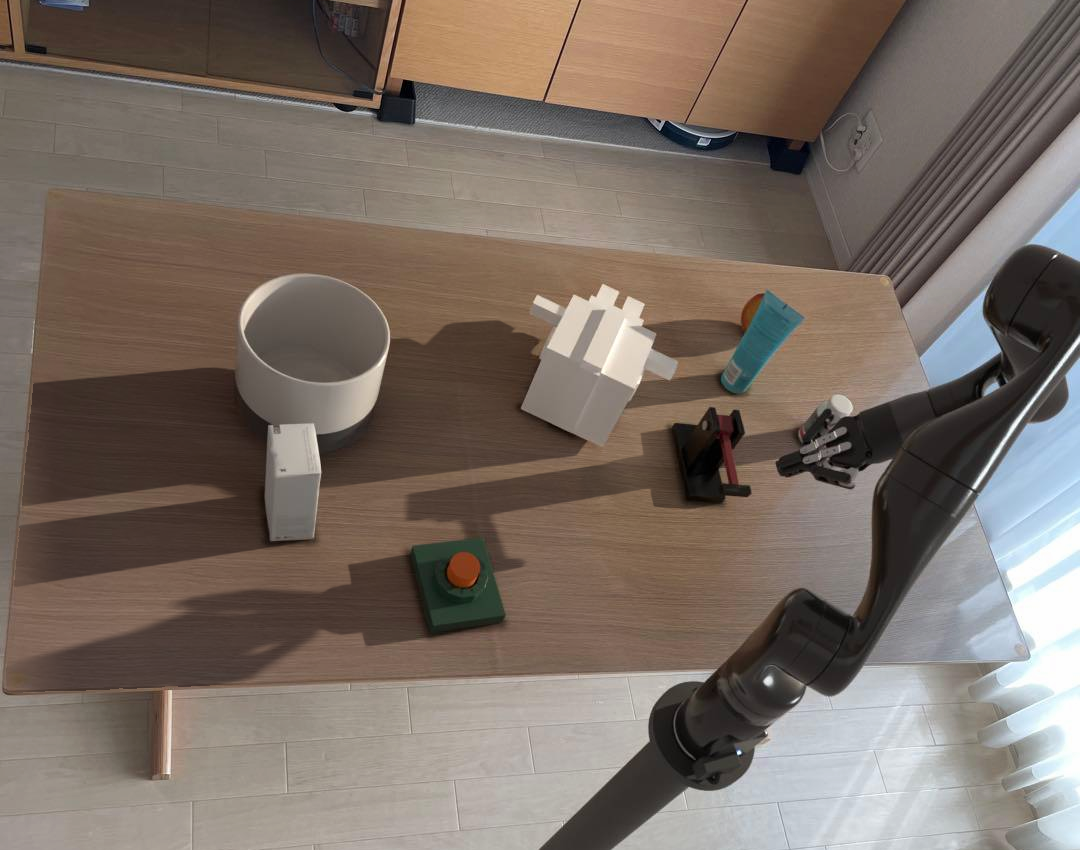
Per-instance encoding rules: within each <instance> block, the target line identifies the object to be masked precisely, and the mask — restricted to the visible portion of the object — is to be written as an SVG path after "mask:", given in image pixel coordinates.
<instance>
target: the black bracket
mask: <svg viewBox="0 0 1080 850" xmlns="http://www.w3.org/2000/svg"><path fill="white" fill-rule="evenodd" d="M717 415H718V412H717V408H716V407H715V406H709V407H708V408H707V410H706V411H705V413H704V415H703V416H702V417H701V419H700V420H699V422H698V424H691V423H683V422H682V423H681V422H674V423H673V425H672V426H671V427H670V428H671V433H672V438H673V442H674V448H675V452H676V457H677V463H678V468H679V472H680V476H681V481H682V486H683V491H684V495H685V500H686V501H687V502H700V503H711V504H723V502H724V501H725V500H726V496H724V495H720V492H719V487H720V485H721V484H722V483H723V481H722V477H721V473H720V469H721V467H722V466H723V464H725V462H724V457H723V452H722V447H721V442H720V439H716V437H717V436H718V434H719V433H720V431H721V429H720V425H719V421H718V416H717ZM729 416H731V419H732V424H733V429H734V432H733V433H732V434H731V435H730V437H729V438H730V443H731V448H732V452H733V451H734V449H735V448H736V447H737V446H738V445H739V443H740V441H741V440H742V439H743V437H744V436H745V435H746V431H745V427H744V423H743V418H742V415H741V411H740V409H733V410H732V411H731V412H730V414H729Z"/></svg>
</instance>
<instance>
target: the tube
mask: <svg viewBox="0 0 1080 850" xmlns="http://www.w3.org/2000/svg"><path fill="white" fill-rule="evenodd" d="M764 293H765V294H764V296H763V299H762V301H761V303H760V305H759V307H758V309H757V311H756V313H755V315H754V317H753V319H752V321H751V323H750V325H749V327H748V329H747V330H746V332H745V333H744V334H743V336H742V338H741V340H740V341H739V344H738V345H737V347H736V349H735V351H734V353H733V354H732V355H731V358H730V360H729V362H728V363H727V365H726V367H725V369H724V371H723V372H722V374H721V376H720V381H721V384H722V385H723V386H724V388H725V389H726V390H728V391H729V392H730V393H733V394H743V393H745V392H746V391H747V390H748V389H749V387H750V386H751V384H752V383H753V382H754V381H755V379H757V377H758V375H759V374H760V373H761V371H762V370H763V368H764V367H765V366H766V365H767V363H768V362H769V361H770V360H771V359H772V357H773V356H774V354H775V353H776V352H777V351H778V350H779V349H780V347H781V346H782V345H783V344H784V343H785V341H786V340H787V339H788V338H789V336H790V335H792V334H793V332H794V331H795V330H796V328H798V327H799V326H800V325H801V324H802V323H803V322H804V320H805V319H806V317H805V316H804V315H803V314H801V313H800V312H798V311H797V310H796V309H795V308H793V307H791V306H790V305H789V304H787V303H786V302H785V301H784V300H783V299H781V298H780V297H778V296H777V295H776V294H774V293H773V292H771V291H770V289H766V290H765V292H764Z"/></svg>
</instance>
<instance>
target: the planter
mask: <svg viewBox="0 0 1080 850" xmlns="http://www.w3.org/2000/svg"><path fill="white" fill-rule="evenodd" d="M390 344H391V332H390V326H389V324H388V320H387V318H386V316H385V314H384V313H383V311H382V310H381V308H380V307H379V306H378V304H377V303H376V302H375V301H374V300H373V299H372V298H371V297H370V296H369V295H367V294H366V293H365V292H363V291H362V290H361V289H359V288H357V287H356V286H354V285H352V284H350V283H349V282H345V281H343V280H341V279H338V278H335V277H331V276H328V275H323V274H317V273H292V274H285V275H281V276H277V277H274V278H272V279H269V280H267V281H265V282H262V283H261V284H260V285H258V286H257V287H255V288H254V289H253V290H252V291H251V292H249V293H248V295H247V296H246V297H245V299H244V300H243V301H242V304H241V305H240V308H239V312H238V315H237V327H236V346H235V348H236V349H235V364H234V365H235V366H234V367H235V369H234V388H233V399H234V404H235V408H236V411H237V413H238V415H239V417H240V419H241V420H242V422H243V423H244V425H245V426H246V427H247V428H248V429H249V430H250V431H251V432H252V433H253V434H254V435H255V436H256V437H258V438H259V439H261V440H262V441H264V442H265V443H267V438H268V425H284V424H308V423H310V424H311V423H313V424H314V427H315V432H316V438H317V444H318V451H319V454H325V453H326V454H327V453H330V452H335V451H337V450H340V449H343V448H345V447H348V446H349V445H351V444H352V443H354V442H356V441H357V440H358V439H359V438H360V437H362V435H363V434H364V433H365V432H366V431H367V429H368V428H369V426H370V425H371V422H372V420H373V418H374V414H375V409H376V406H377V401H378V397H379V393H380V388H381V385H382V381H383V375H384V371H385V367H386V364H387V363H386V362H387V359H388V353H389V350H390ZM298 378H299V379H298ZM301 378H302V379H301ZM313 380H314V381H313Z"/></svg>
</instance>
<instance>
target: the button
mask: <svg viewBox="0 0 1080 850" xmlns="http://www.w3.org/2000/svg"><path fill="white" fill-rule="evenodd" d="M479 572H480V563H479V561H478V559H477V558H476V557H475V556H474V555H472V554H470V553H467V552H461V553H457V554H456V555H454V556H453V557H452V559H451V561H450V563H449V566H448V568H447V572H446V575H447V578H448V580H449V582H450V583H451V584H452V585H454V586H455V587H458V588H468V587H470V586H472V585H473V584H474V582H475V580H476V578H477V576H478V574H479Z"/></svg>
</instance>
